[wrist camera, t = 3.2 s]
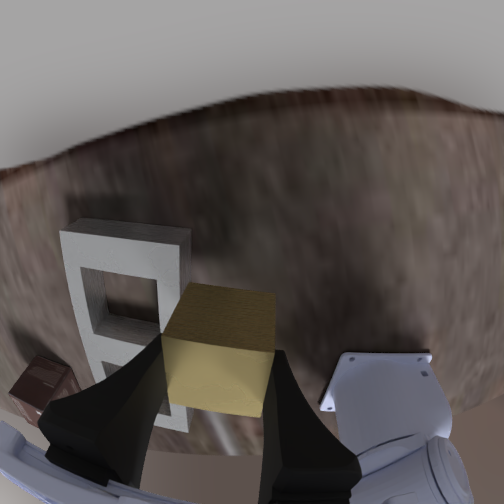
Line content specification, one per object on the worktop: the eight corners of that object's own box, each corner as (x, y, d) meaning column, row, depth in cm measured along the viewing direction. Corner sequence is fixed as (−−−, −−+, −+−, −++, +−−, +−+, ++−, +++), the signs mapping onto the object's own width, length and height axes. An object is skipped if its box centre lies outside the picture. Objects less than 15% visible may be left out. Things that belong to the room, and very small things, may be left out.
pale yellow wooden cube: (275, 293, 15) (274, 353, 11) (264, 357, 17) (260, 417, 13) (188, 281, 15) (161, 335, 11) (189, 346, 17) (169, 402, 13)
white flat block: (191, 228, 20) (179, 245, 17) (193, 410, 28) (188, 432, 25) (81, 217, 20) (59, 230, 17) (116, 392, 28) (107, 411, 25)
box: (36, 353, 27) (6, 391, 21) (72, 366, 27) (43, 411, 20) (51, 385, 30) (27, 422, 23) (86, 399, 30) (63, 441, 23)
